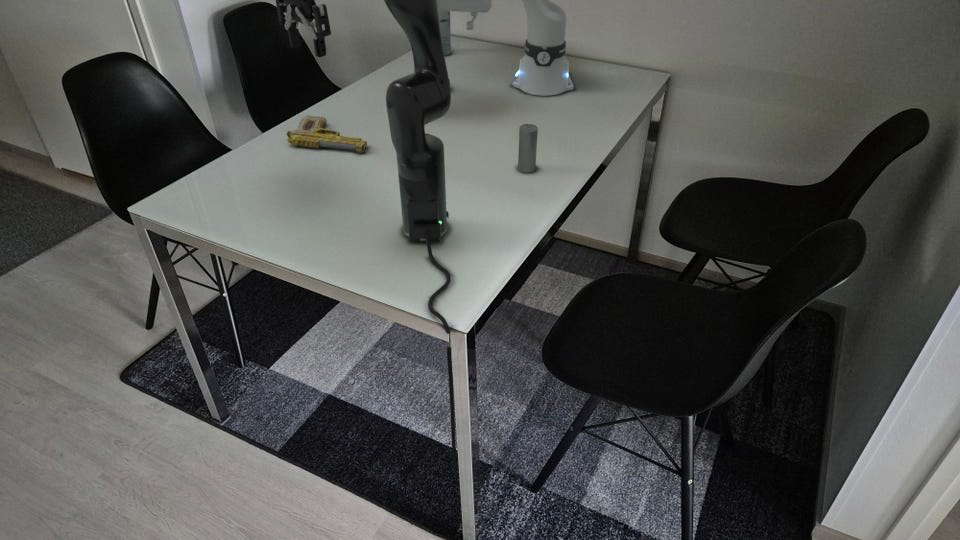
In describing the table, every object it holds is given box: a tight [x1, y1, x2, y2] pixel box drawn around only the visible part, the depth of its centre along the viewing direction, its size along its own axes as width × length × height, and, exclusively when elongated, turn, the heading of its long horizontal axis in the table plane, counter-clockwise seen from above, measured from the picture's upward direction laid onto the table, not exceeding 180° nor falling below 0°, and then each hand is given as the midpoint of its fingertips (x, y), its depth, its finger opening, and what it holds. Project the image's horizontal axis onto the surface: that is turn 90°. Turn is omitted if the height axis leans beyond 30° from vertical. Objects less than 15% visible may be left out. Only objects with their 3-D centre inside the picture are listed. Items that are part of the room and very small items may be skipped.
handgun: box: [286, 115, 368, 154], centre depth 166 cm, size 2×23×15 cm
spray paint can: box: [438, 10, 452, 57], centre depth 212 cm, size 6×6×20 cm
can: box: [517, 123, 539, 174], centre depth 150 cm, size 4×4×11 cm
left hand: (308, 51), depth 132 cm, fingers open, 8 cm apart
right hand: (452, 28), depth 163 cm, fingers open, 8 cm apart
